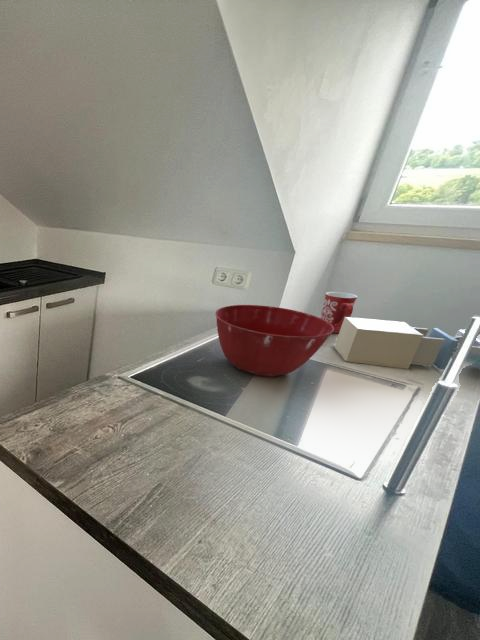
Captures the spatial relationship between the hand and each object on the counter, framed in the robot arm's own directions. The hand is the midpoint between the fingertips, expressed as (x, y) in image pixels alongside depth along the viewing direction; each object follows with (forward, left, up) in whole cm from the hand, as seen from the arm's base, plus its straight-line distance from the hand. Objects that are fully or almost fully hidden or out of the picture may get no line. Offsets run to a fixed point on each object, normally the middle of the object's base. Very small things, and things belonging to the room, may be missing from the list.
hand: (451, 343), depth 112 cm
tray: (+6, 0, -6) cm, 9 cm away
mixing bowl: (+49, +21, -7) cm, 53 cm away
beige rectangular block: (+17, 0, -7) cm, 18 cm away
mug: (+21, -24, -7) cm, 32 cm away
